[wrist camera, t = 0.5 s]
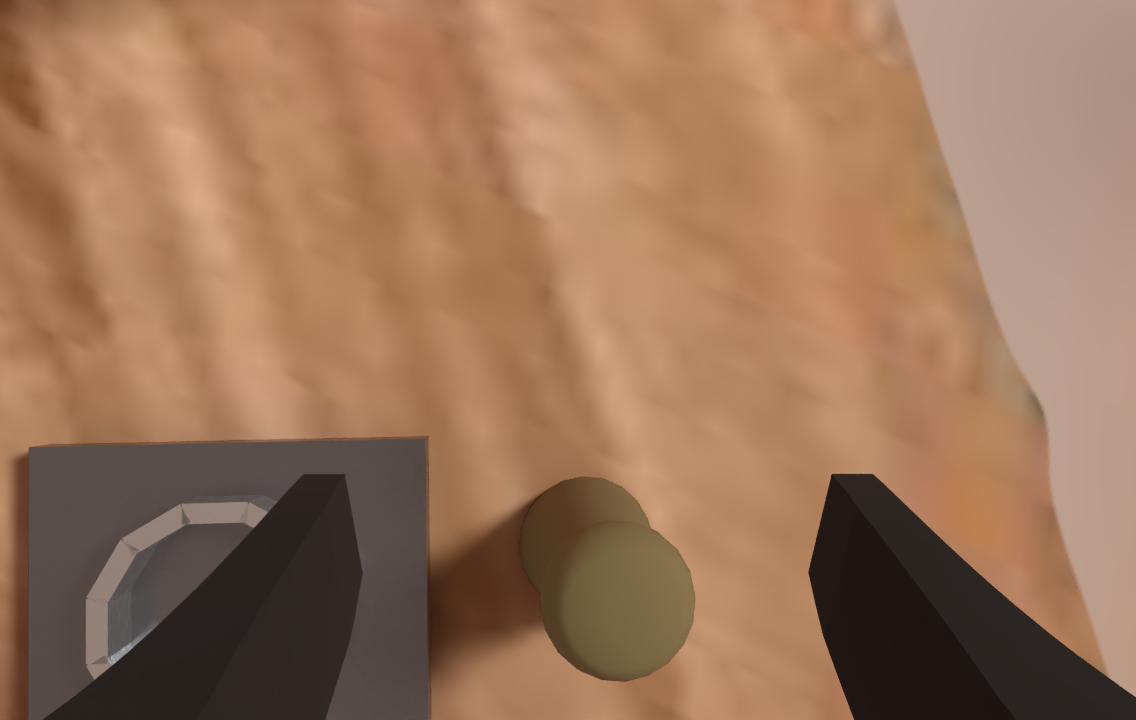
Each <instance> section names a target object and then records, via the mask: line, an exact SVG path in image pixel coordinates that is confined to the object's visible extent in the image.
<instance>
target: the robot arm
mask: <svg viewBox="0 0 1136 720" xmlns="http://www.w3.org/2000/svg"><path fill="white" fill-rule="evenodd" d="M362 574H363V571H362V566H361V560H360V555H359V549H358V544H357V538H356V533H355V527H354V522H353V516H352V511H351V505H350V500H349V494H348V488H347V483H346V477H345V474H303V475H302V476H301V477H300V478H299V479H298V480H297V481H296V482H295V483H294V484H293V485H292V486H291V487H290V488H289V489H288V491H287V492H286V493H285V494H284V495H283V496H282V497H281V498H280V499H279V501H278V502H277V503H276V504H275V505H274V506H273V507H272V508H271V510H270V511H269V512H268V513H267V514H266V515H265V516H264V517H263V518H262V520H261V521H260V522H259V523H258V524H257V525H256V526H255V527H254V528H253V529H252V530H251V532H250V533H249V534H248V535H247V536H246V537H245V538H244V539H243V540H242V541H241V542H240V543H239V545H238V546H237V547H236V548H235V549H234V550H233V551H232V552H231V553H230V554H229V555H228V556H227V557H226V558H225V559H224V560H223V561H222V562H221V563H220V564H219V565H218V566H217V567H216V569H215V570H214V571H213V572H212V573H211V574H210V575H209V576H208V577H207V578H206V579H205V580H204V581H203V582H202V583H201V584H200V585H199V586H198V587H197V588H196V589H195V590H194V591H193V592H192V593H191V594H190V595H189V596H188V597H187V598H186V599H184V600H183V601H182V602H181V603H180V604H179V605H178V606H177V607H176V608H175V609H174V610H173V611H172V612H171V613H170V614H169V615H168V616H167V617H166V618H165V619H164V620H162V621H161V622H160V623H159V624H158V625H157V626H156V627H155V628H154V629H153V630H152V631H151V632H150V633H149V634H148V635H146V636H145V637H144V638H143V639H142V640H141V641H140V642H139V643H137V644H136V645H135V646H134V647H133V648H132V649H131V650H130V651H128V652H127V653H126V654H125V655H124V656H123V657H121V658H120V659H119V660H118V661H117V662H116V663H114V664H113V665H112V666H111V667H110V668H108V669H107V670H106V671H105V672H104V673H102V674H101V675H100V676H99V677H97V678H96V679H95V680H94V681H93V682H91V683H90V684H89V685H88V686H87V687H85V688H84V689H83V690H81V691H80V692H79V693H78V694H76V695H75V696H74V697H73V698H71V699H70V700H69V701H67V702H66V703H64V704H63V705H62V706H60V707H59V708H58V709H56V710H55V711H54V712H52V713H51V714H49V715H48V716H47V717H45V718H44V719H43V720H325V719H326V716H327V713H328V710H329V707H330V703H331V700H332V697H333V694H334V691H335V688H336V684H337V681H338V678H339V675H340V672H341V668H342V665H343V662H344V659H345V655H346V652H347V649H348V645H349V642H350V639H351V634H352V629H353V624H354V619H355V614H356V609H357V603H358V597H359V592H360V586H361V580H362ZM809 577H810V581H811V586H812V590H813V595H814V599H815V604H816V608H817V612H818V616H819V620H820V624H821V628H822V633H823V636H824V639H825V642H826V645H827V648H828V650H829V653H830V656H831V659H832V661H833V664H834V667H835V670H836V672H837V675H838V678H839V680H840V683H841V686H842V689H843V691H844V694H845V697H846V699H847V702H848V705H849V707H850V710H851V712H852V715H853V718H854V720H1136V697H1135V696H1133V695H1132V694H1130V693H1129V692H1127V691H1126V690H1124V689H1123V688H1122V687H1120V686H1119V685H1118V684H1116V683H1115V682H1114V681H1112V680H1111V679H1109V678H1108V677H1107V676H1105V675H1104V674H1103V673H1101V672H1100V671H1098V670H1097V669H1096V668H1094V667H1093V666H1092V665H1090V664H1089V663H1087V662H1086V661H1085V660H1083V659H1082V658H1081V657H1079V656H1078V655H1077V654H1075V653H1074V652H1073V651H1071V650H1070V649H1069V648H1067V647H1066V646H1065V645H1064V644H1062V643H1061V642H1060V641H1058V640H1057V639H1056V638H1055V637H1053V636H1052V635H1051V634H1049V633H1048V632H1047V631H1046V630H1045V629H1043V628H1042V627H1041V626H1040V625H1039V624H1037V623H1036V622H1035V621H1034V620H1032V619H1031V618H1030V617H1029V616H1028V615H1026V614H1025V613H1024V612H1023V611H1022V610H1020V609H1019V608H1018V607H1017V606H1015V605H1014V604H1013V603H1012V602H1011V601H1009V600H1008V599H1007V598H1006V597H1005V596H1004V595H1003V594H1001V593H1000V592H999V591H998V590H997V589H996V588H994V587H993V586H992V585H991V584H990V583H989V582H988V581H986V580H985V579H984V578H983V577H982V576H981V575H980V574H979V573H978V572H976V571H975V570H974V569H973V568H972V567H971V566H970V565H969V564H968V563H967V562H965V561H964V560H963V559H962V558H961V557H960V556H959V555H958V554H957V553H956V552H955V551H953V550H952V549H951V548H950V547H949V546H948V545H947V544H946V543H945V542H944V541H943V540H942V539H941V538H940V537H939V536H937V535H936V534H935V533H934V532H933V531H932V530H931V529H930V528H929V527H928V526H927V525H926V524H925V523H924V522H923V521H922V520H921V519H920V518H919V517H918V516H917V515H916V514H914V513H913V512H912V511H911V510H910V509H909V508H908V507H907V506H906V505H905V504H904V503H903V502H902V501H901V500H900V499H899V498H898V497H897V496H896V495H895V494H894V493H893V492H892V491H891V490H890V489H888V488H887V487H886V486H885V485H884V484H883V483H882V482H881V481H880V480H879V479H878V478H877V477H876V476H874V475H873V474H832V475H831V480H830V484H829V488H828V492H827V496H826V501H825V505H824V509H823V513H822V517H821V522H820V526H819V530H818V534H817V538H816V543H815V547H814V551H813V555H812V559H811V564H810V568H809Z"/></svg>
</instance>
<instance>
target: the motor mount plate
mask: <svg viewBox="0 0 1136 720" xmlns="http://www.w3.org/2000/svg"><path fill="white" fill-rule="evenodd" d="M303 474H345V477H346V483H347V488H348V494H349V500H350V505H351V511H352V516H353V522H354V527H355V533H356V538H357V544H358V549H359V555H360V560H361V566H362V571H363V574H362V580H361V586H360V592H359V597H358V603H357V609H356V614H355V619H354V624H353V629H352V634H351V639H350V642H349V645H348V649H347V652H346V655H345V659H344V662H343V665H342V668H341V672H340V675H339V678H338V681H337V684H336V688H335V691H334V694H333V697H332V700H331V703H330V707H329V710H328V713H327V716H326V719H325V720H431V643H430V551H429V460H428V436H416V437H370V438H324V439H278V440H233V441H187V442H141V443H95V444H49V445H42V446H35V447H29V583H28V720H43V719H44V718H45V717H47V716H48V715H49V714H51V713H52V712H54V711H55V710H56V709H58V708H59V707H60V706H62V705H63V704H64V703H66V702H67V701H69V700H70V699H71V698H73V697H74V696H75V695H76V694H78V693H79V692H80V691H81V690H83V689H84V688H85V687H87V686H88V685H89V684H90V683H91V682H93V681H94V680H95V679H96V678H97V677H99V676H100V675H101V674H102V673H104V672H105V671H106V670H107V669H108V668H110V667H111V666H112V665H113V664H114V663H116V662H117V661H118V660H119V659H120V658H121V657H123V656H124V655H125V654H126V653H127V652H128V651H130V650H131V649H132V648H133V647H134V646H135V645H136V644H137V643H139V642H140V641H141V640H142V639H143V638H144V637H145V636H146V635H148V634H149V633H150V632H151V631H152V630H153V629H154V628H155V627H156V626H157V625H158V624H159V623H160V622H161V621H162V620H164V619H165V618H166V617H167V616H168V615H169V614H170V613H171V612H172V611H173V610H174V609H175V608H176V607H177V606H178V605H179V604H180V603H181V602H182V601H183V600H184V599H186V598H187V597H188V596H189V595H190V594H191V593H192V592H193V591H194V590H195V589H196V588H197V587H198V586H199V585H200V584H201V583H202V582H203V581H204V580H205V579H206V578H207V577H208V576H209V575H210V574H211V573H212V572H213V571H214V570H215V569H216V567H217V566H218V565H219V564H220V563H221V562H222V561H223V560H224V559H225V558H226V557H227V556H228V555H229V554H230V553H231V552H232V551H233V550H234V549H235V548H236V547H237V546H238V545H239V543H240V542H241V541H242V540H243V539H244V538H245V537H246V536H247V535H248V534H249V533H250V532H251V530H252V529H253V528H254V527H255V526H256V525H257V524H258V523H259V522H260V521H261V520H262V518H263V517H264V516H265V515H266V514H267V513H268V512H269V511H270V510H271V508H272V507H273V506H274V505H275V504H276V503H277V502H278V501H279V499H280V498H281V497H282V496H283V495H284V494H285V493H286V492H287V491H288V489H289V488H290V487H291V486H292V485H293V484H294V483H295V482H296V481H297V480H298V479H299V478H300V477H301V476H302V475H303Z"/></svg>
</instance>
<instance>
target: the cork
mask: <svg viewBox="0 0 1136 720" xmlns="http://www.w3.org/2000/svg"><path fill="white" fill-rule="evenodd" d="M519 549H520V554H521V559H522V564H523V569H524V571H525V572H526V574H527V576H528V577H529V579H530V581H531V583H532V584H533V586H534V588H535V589H536V590H537V591H538V592H539V593H540V594H541V596H540V606H541V611H542V616H543V621H544V625H545V630H546V632H547V634H548V636H549V638H550V639H551V641H552V643H553V645H554V646H555V648H556V650H557V651H558V653H559V654H561V655H562V656H563V657H564V658H565V659H566V660H567V661H568V662H570V663H571V664H572V665H573V666H574V667H575V668H576V669H578V670H580V671H582V672H584V673H587V674H589V675H591V676H594V677H596V678H598V679H601V680H610V681H624V682H626V681H630V680H634V679H638V678H642V677H646V676H649V675H650V674H652V673H653V672H655V671H657V670H658V669H660V668H661V667H663V666H665V665H666V664H668V663H669V662H670V661H671V659H672V658H673V657H674V656H675V655H676V653H677V652H678V651H679V650H680V649H681V648H682V646H683V645H684V643H685V641H686V638H687V636H688V634H689V631H690V629H691V627H692V624H693V618H694V608H695V592H694V587H693V583H692V578H691V573H690V570H689V568H688V567H687V565H686V563H685V561H684V560H683V558H682V556H681V554H680V553H679V551H678V550H677V549H676V548H675V547H674V546H673V545H672V544H671V543H670V542H669V541H667V540H666V539H665V538H664V537H663V536H662V535H661V534H660V533H658V532H657V531H655V530H653V529H651V527H650V524H649V521H648V518H647V517H646V515H645V513H644V511H643V510H642V508H641V506H640V504H639V503H638V501H637V500H636V499H635V498H634V497H633V496H632V495H630V494H629V493H628V492H627V491H626V490H625V489H624V488H623V487H621V486H619V485H617V484H614V483H612V482H610V481H608V480H605V479H602V478H592V477H579V478H574V479H570V480H565V481H562V482H560V483H558V484H557V485H555V486H553V487H552V488H550V489H548V490H547V491H545V492H544V493H543V494H542V495H541V496H540V497H539V498H538V499H537V501H536V502H535V503H534V504H533V505H532V506H531V507H530V509H529V511H528V514H527V516H526V518H525V520H524V523H523V525H522V527H521V537H520V546H519Z"/></svg>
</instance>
